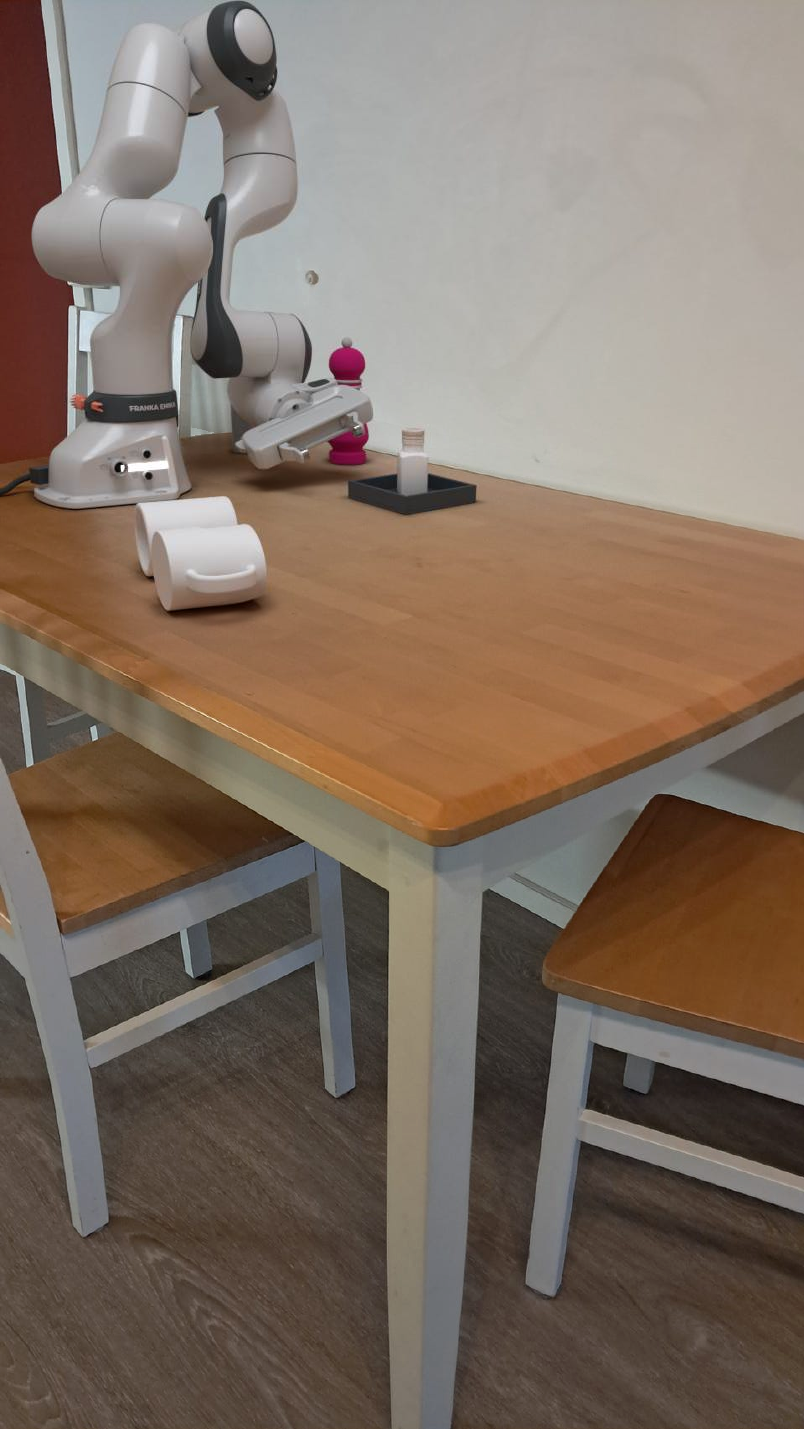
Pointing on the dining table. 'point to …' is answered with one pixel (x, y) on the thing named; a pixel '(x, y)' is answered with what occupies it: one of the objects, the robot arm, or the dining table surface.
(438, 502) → the spice tray
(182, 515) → the mug
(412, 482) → the pepper shaker
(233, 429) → the planter
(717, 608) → the dining table surface
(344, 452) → the pepper mill
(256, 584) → the mug
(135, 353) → the robot arm
